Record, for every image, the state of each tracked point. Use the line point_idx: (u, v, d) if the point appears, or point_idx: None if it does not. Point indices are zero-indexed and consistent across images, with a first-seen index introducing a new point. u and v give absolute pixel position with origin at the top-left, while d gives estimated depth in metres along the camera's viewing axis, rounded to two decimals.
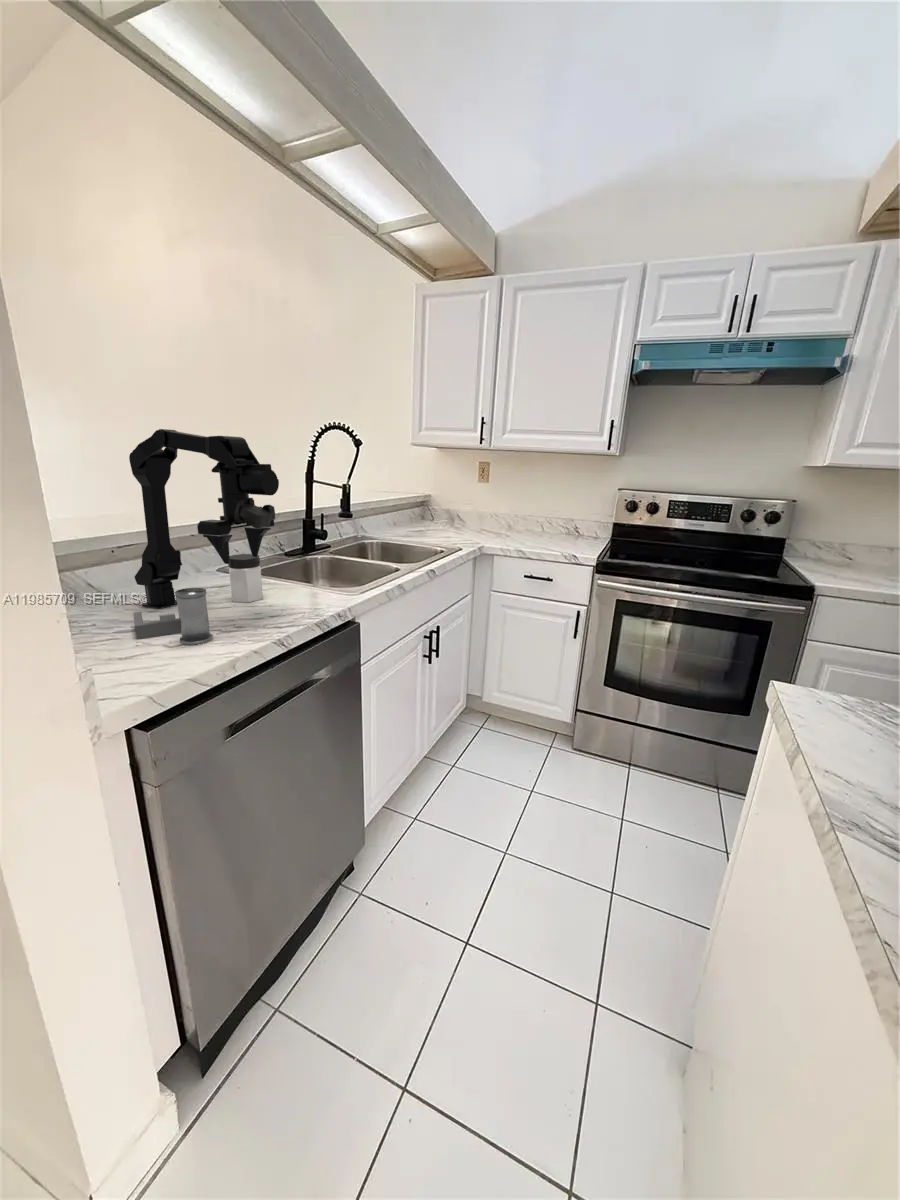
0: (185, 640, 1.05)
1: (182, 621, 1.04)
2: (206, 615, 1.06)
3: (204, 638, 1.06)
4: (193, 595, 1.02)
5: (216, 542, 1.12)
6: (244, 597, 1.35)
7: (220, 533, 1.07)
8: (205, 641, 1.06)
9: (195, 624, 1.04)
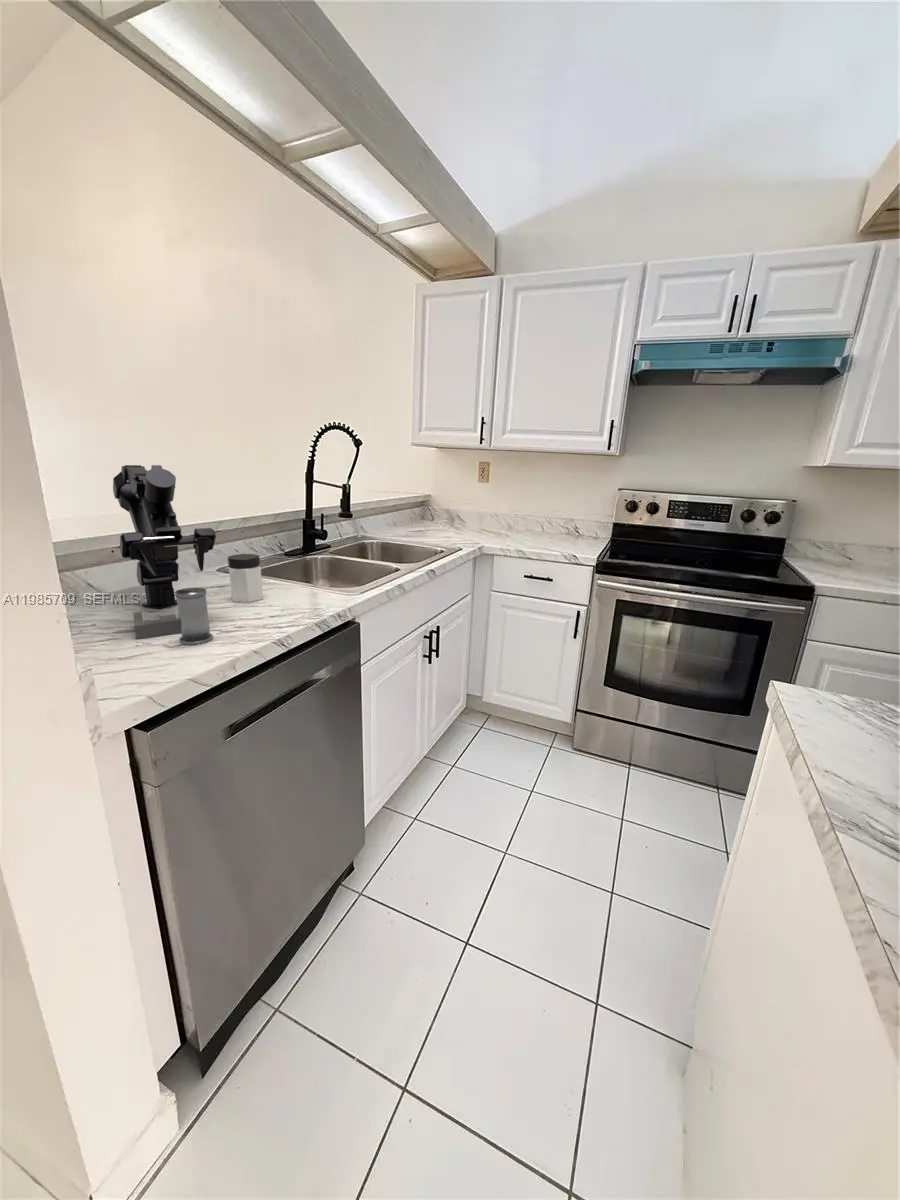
0: (185, 640, 1.05)
1: (182, 621, 1.04)
2: (206, 615, 1.06)
3: (204, 638, 1.06)
4: (193, 595, 1.02)
5: None
6: (244, 597, 1.35)
7: None
8: (205, 641, 1.06)
9: (195, 624, 1.04)
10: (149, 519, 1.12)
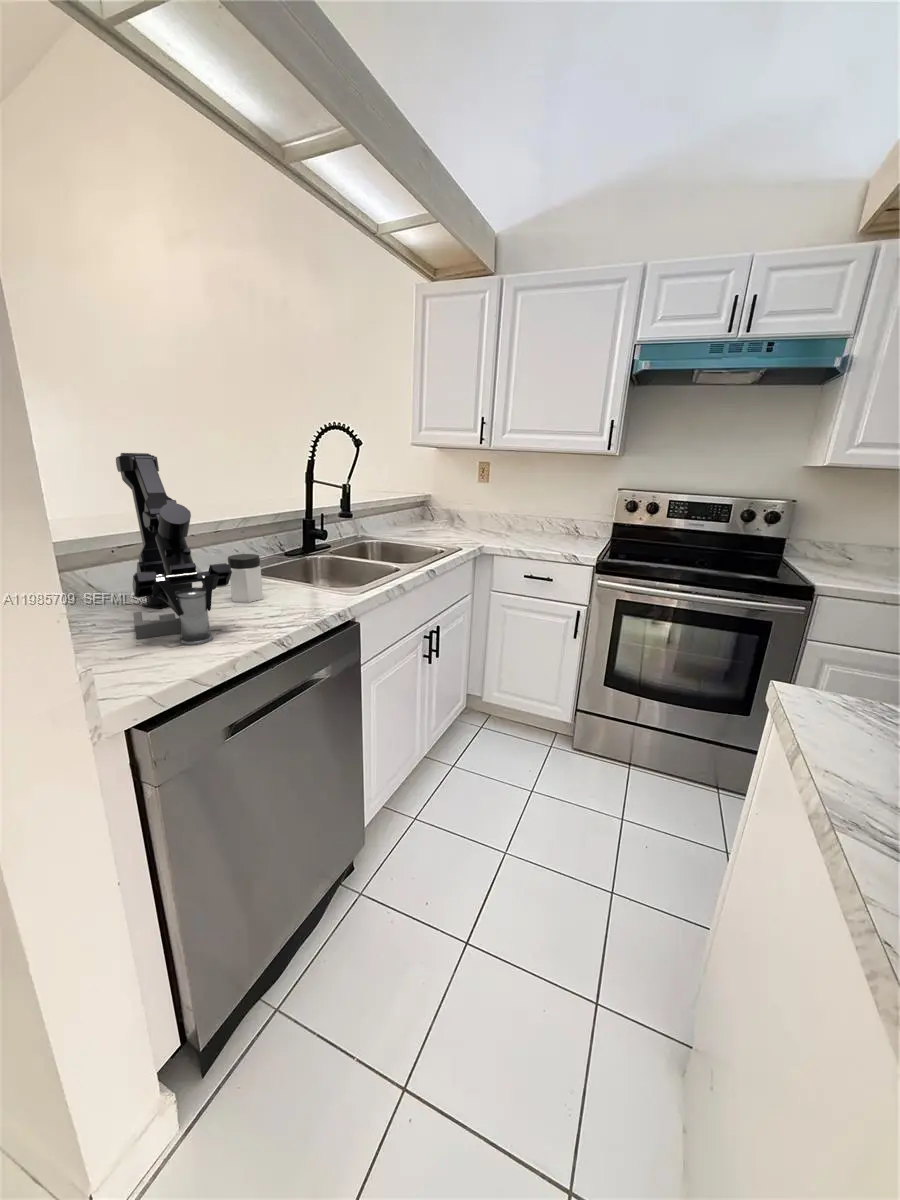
0: (185, 640, 1.05)
1: (182, 621, 1.04)
2: (206, 615, 1.06)
3: (204, 638, 1.06)
4: (193, 595, 1.02)
5: None
6: (244, 597, 1.35)
7: None
8: (205, 641, 1.06)
9: (195, 624, 1.04)
10: (163, 556, 1.07)
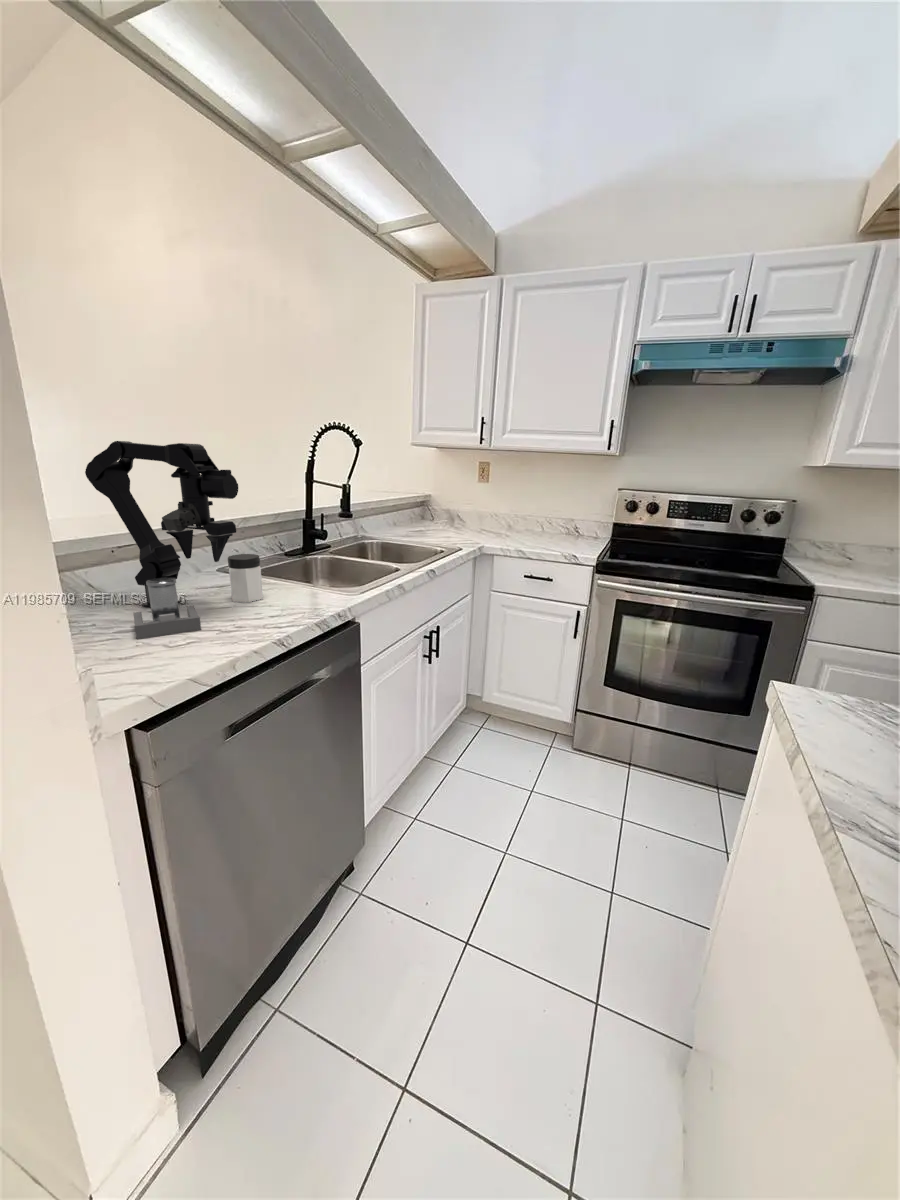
0: None
1: (152, 608, 1.12)
2: (175, 603, 1.14)
3: None
4: (161, 584, 1.10)
5: None
6: (244, 597, 1.35)
7: (162, 528, 1.23)
8: None
9: (163, 612, 1.12)
10: (207, 502, 1.21)
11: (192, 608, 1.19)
